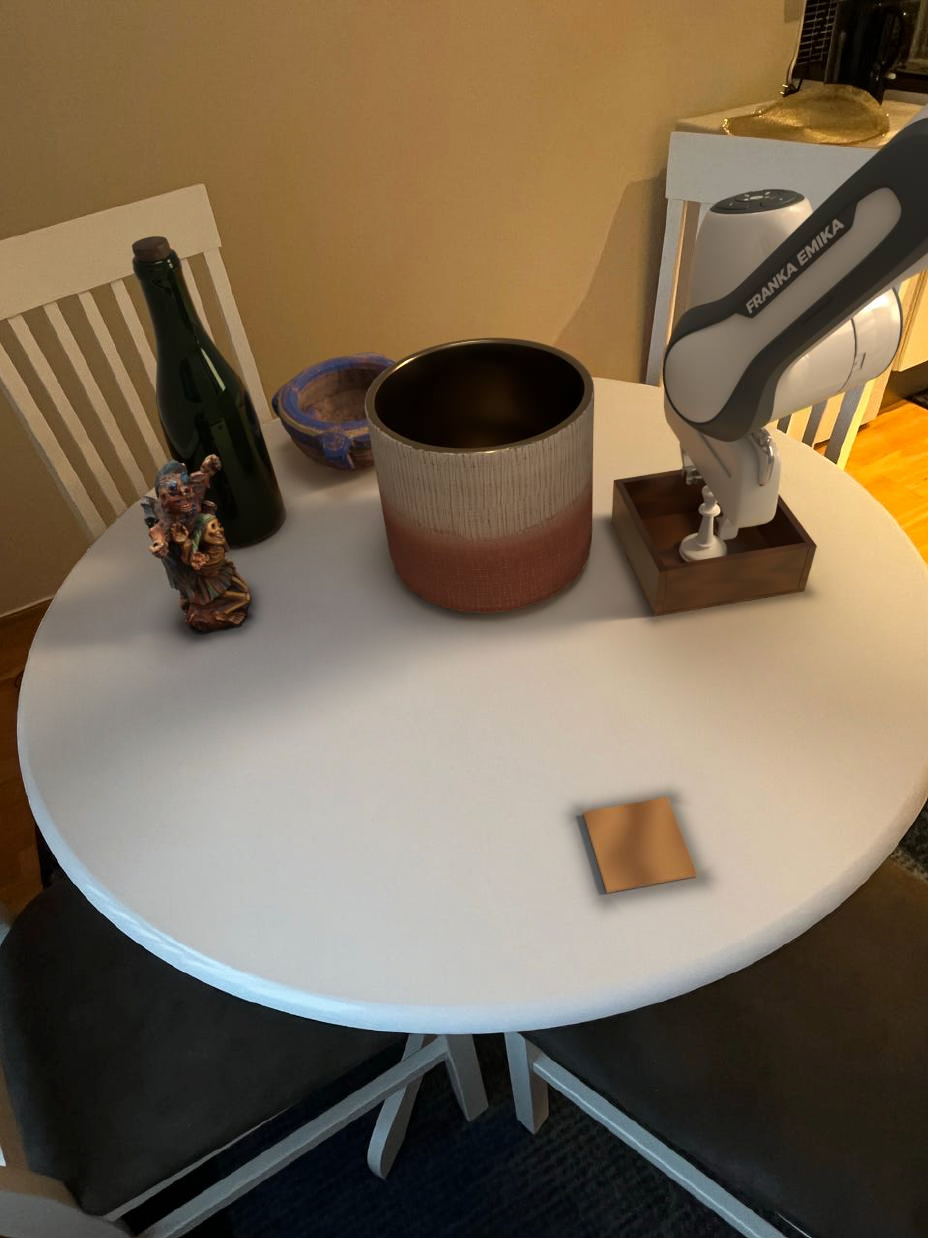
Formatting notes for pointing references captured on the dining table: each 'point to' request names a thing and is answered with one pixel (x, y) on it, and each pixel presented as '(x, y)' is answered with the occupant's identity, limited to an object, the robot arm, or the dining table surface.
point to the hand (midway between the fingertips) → (707, 506)
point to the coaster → (638, 845)
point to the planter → (485, 471)
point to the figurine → (195, 548)
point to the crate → (753, 568)
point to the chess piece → (704, 533)
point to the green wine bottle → (206, 402)
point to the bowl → (331, 410)
